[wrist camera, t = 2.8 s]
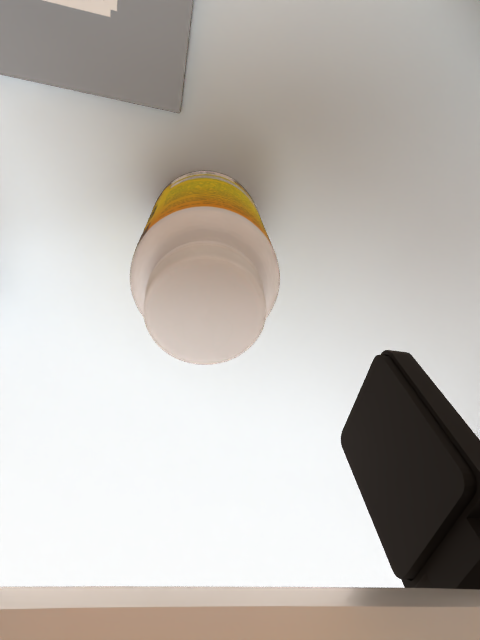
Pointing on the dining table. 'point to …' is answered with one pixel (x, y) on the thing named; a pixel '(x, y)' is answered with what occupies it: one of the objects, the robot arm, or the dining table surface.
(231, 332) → the supplement bottle
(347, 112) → the dining table surface
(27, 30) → the flat gray board
